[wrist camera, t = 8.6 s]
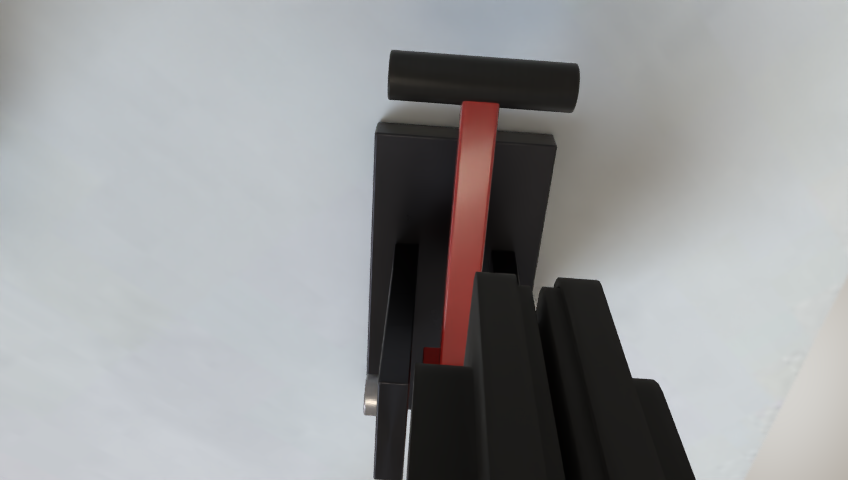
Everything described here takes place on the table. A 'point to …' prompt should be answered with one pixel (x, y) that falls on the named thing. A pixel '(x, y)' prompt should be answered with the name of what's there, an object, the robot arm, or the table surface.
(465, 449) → the robot arm
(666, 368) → the table surface
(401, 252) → the black lever base
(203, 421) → the table surface
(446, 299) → the red lever handle
